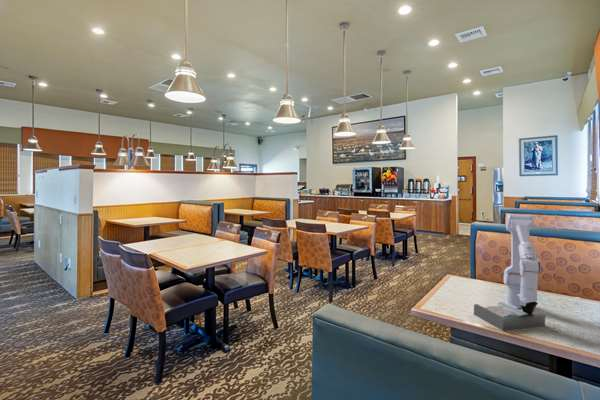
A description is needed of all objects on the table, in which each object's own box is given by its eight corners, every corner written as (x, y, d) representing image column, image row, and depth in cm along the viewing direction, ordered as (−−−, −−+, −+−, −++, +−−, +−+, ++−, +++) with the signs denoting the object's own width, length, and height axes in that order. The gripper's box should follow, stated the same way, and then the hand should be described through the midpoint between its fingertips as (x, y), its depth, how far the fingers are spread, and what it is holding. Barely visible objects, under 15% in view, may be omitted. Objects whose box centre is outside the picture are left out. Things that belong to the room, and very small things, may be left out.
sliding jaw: (501, 311, 141) (502, 301, 141) (527, 323, 128) (528, 313, 128) (497, 311, 141) (497, 302, 140) (523, 324, 128) (523, 314, 128)
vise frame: (512, 310, 142) (512, 301, 142) (544, 325, 127) (545, 315, 127) (473, 314, 138) (474, 304, 138) (502, 330, 123) (503, 319, 123)
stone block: (502, 329, 127) (521, 322, 130) (500, 318, 127) (519, 312, 129) (479, 318, 139) (497, 312, 141) (477, 308, 139) (496, 302, 141)
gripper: (523, 281, 137) (522, 310, 138) (511, 287, 129) (510, 319, 129) (543, 285, 132) (541, 316, 132) (531, 292, 123) (530, 325, 124)
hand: (527, 318), depth 130 cm, fingers closed
